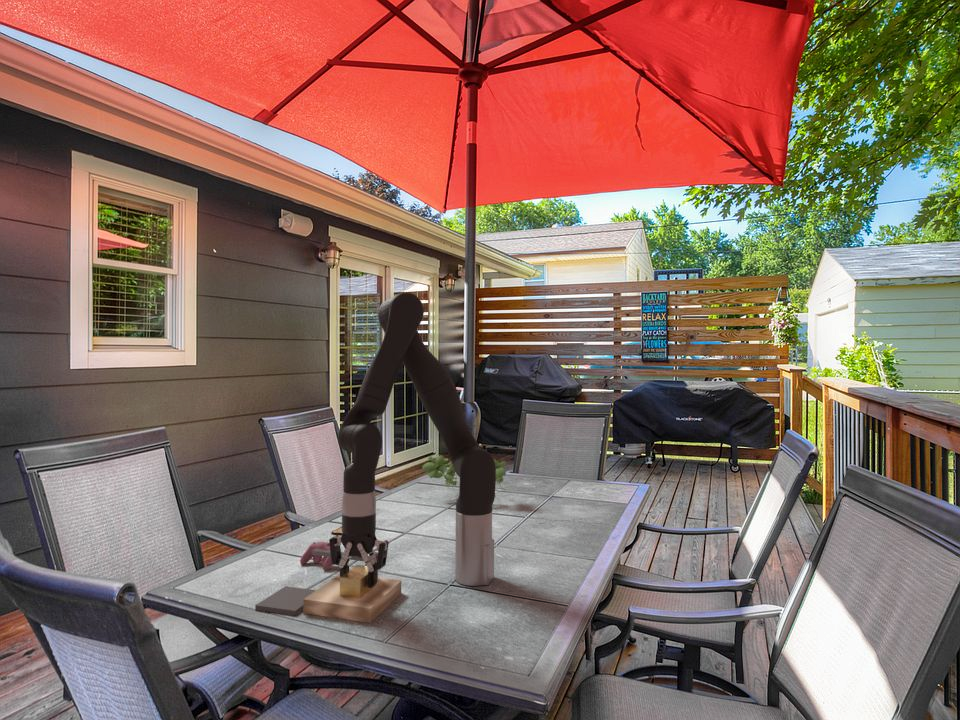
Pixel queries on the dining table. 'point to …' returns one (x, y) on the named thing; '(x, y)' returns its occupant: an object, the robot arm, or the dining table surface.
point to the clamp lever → (328, 554)
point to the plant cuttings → (442, 467)
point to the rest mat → (285, 601)
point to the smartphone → (337, 532)
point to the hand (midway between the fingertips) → (358, 584)
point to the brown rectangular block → (355, 582)
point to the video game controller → (316, 559)
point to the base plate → (352, 601)
